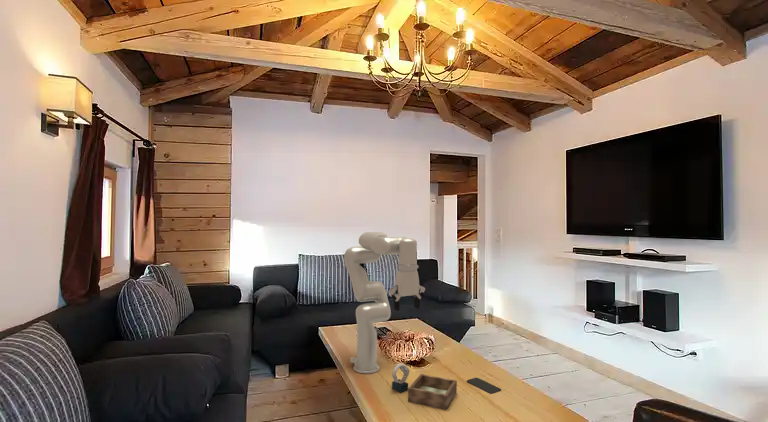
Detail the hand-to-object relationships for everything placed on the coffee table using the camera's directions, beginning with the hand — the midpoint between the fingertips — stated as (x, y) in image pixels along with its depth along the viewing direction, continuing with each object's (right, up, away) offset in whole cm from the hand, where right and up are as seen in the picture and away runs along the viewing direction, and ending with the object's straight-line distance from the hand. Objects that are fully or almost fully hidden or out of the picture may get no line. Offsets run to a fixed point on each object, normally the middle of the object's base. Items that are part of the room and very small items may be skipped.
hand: (406, 309), depth 173 cm
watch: (-3, -36, +6) cm, 37 cm away
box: (+11, -36, -1) cm, 38 cm away
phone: (+35, -37, +11) cm, 52 cm away
